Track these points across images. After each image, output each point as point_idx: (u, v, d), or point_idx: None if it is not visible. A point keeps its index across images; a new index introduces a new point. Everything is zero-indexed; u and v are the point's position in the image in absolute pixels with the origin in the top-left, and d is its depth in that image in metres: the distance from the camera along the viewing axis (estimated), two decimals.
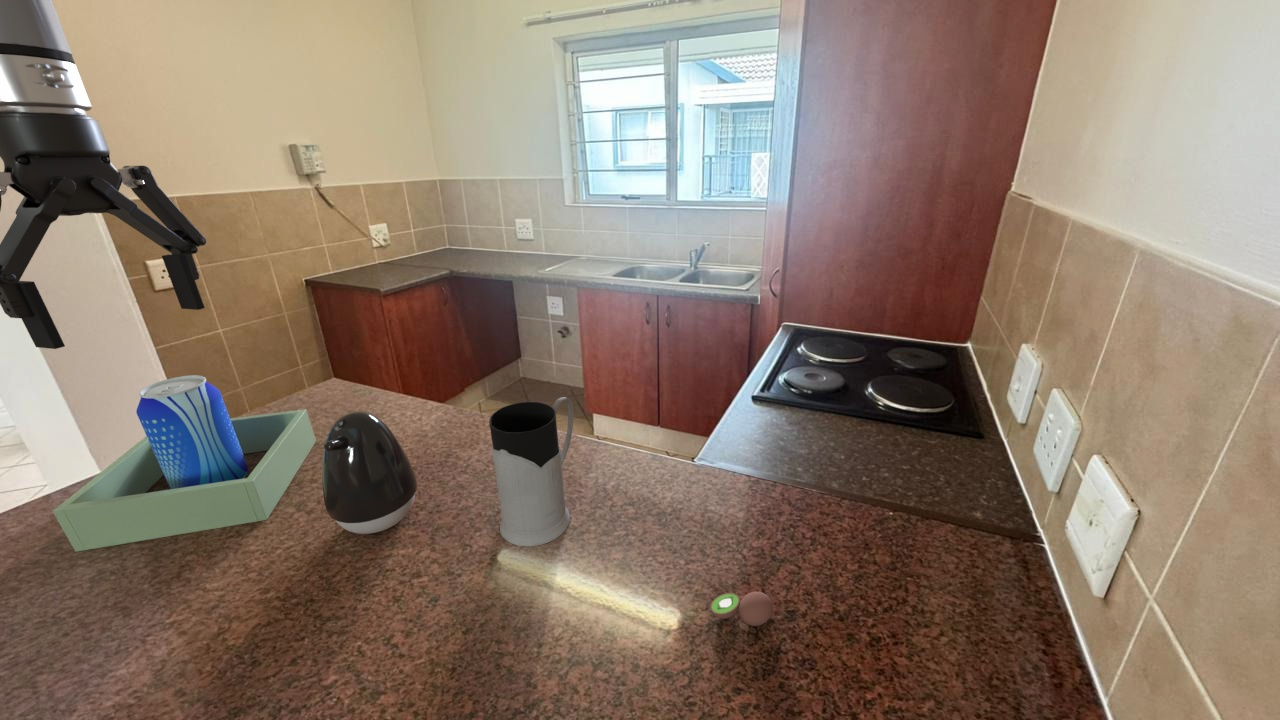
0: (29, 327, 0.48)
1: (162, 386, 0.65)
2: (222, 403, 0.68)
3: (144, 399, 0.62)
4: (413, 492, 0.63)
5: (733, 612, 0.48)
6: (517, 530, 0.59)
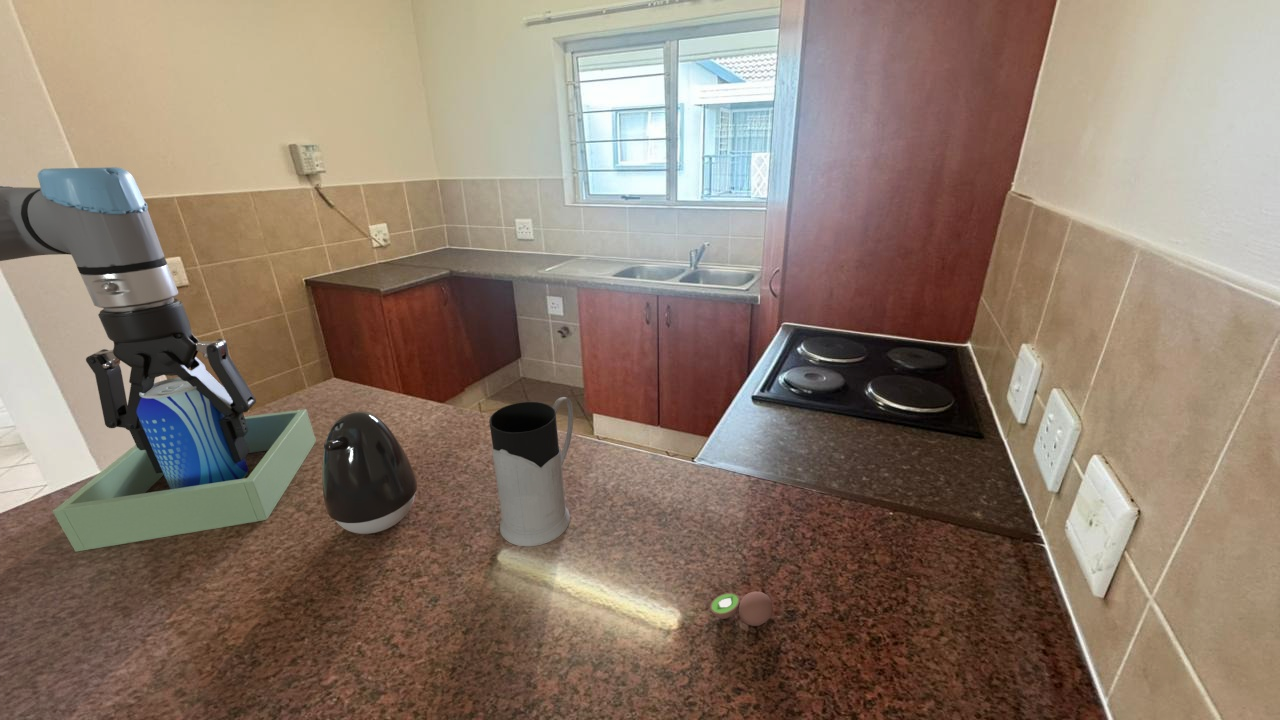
0: None
1: (162, 386, 0.65)
2: None
3: (144, 399, 0.62)
4: (413, 492, 0.63)
5: (733, 612, 0.48)
6: (517, 530, 0.59)
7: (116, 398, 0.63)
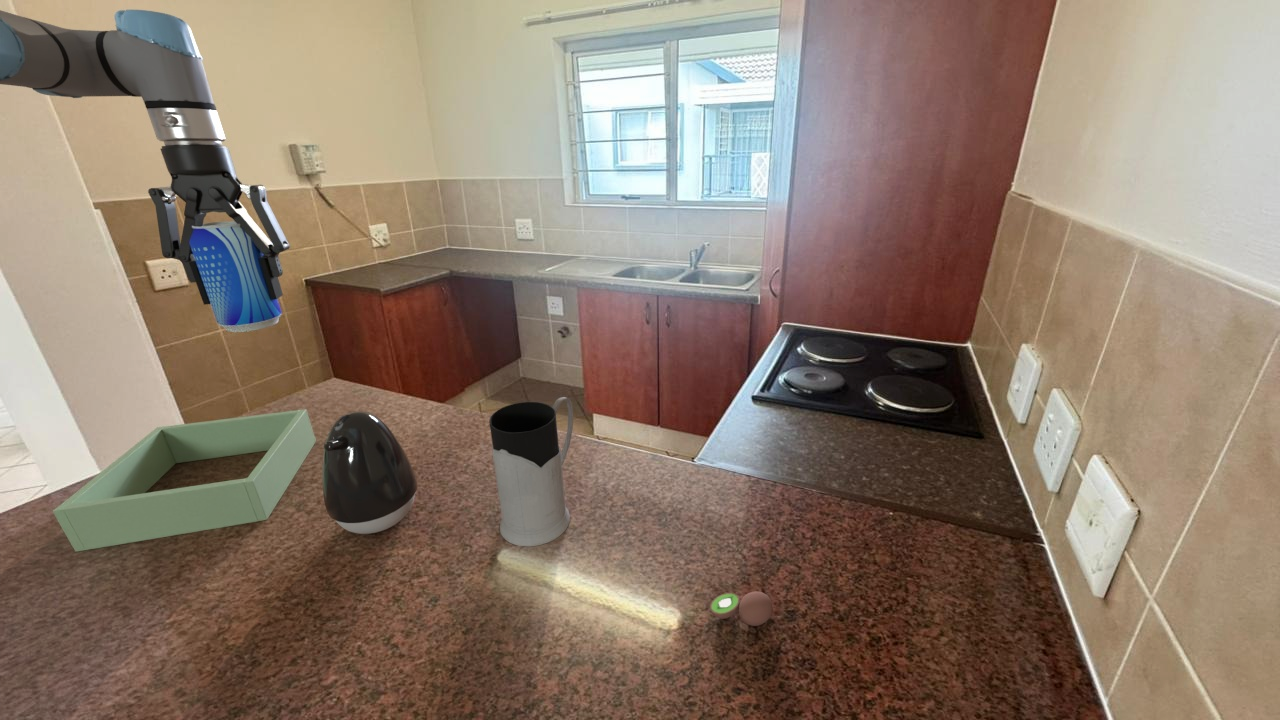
0: None
1: (210, 225, 0.75)
2: None
3: (197, 229, 0.72)
4: (413, 492, 0.63)
5: (733, 612, 0.48)
6: (517, 530, 0.59)
7: (172, 231, 0.73)
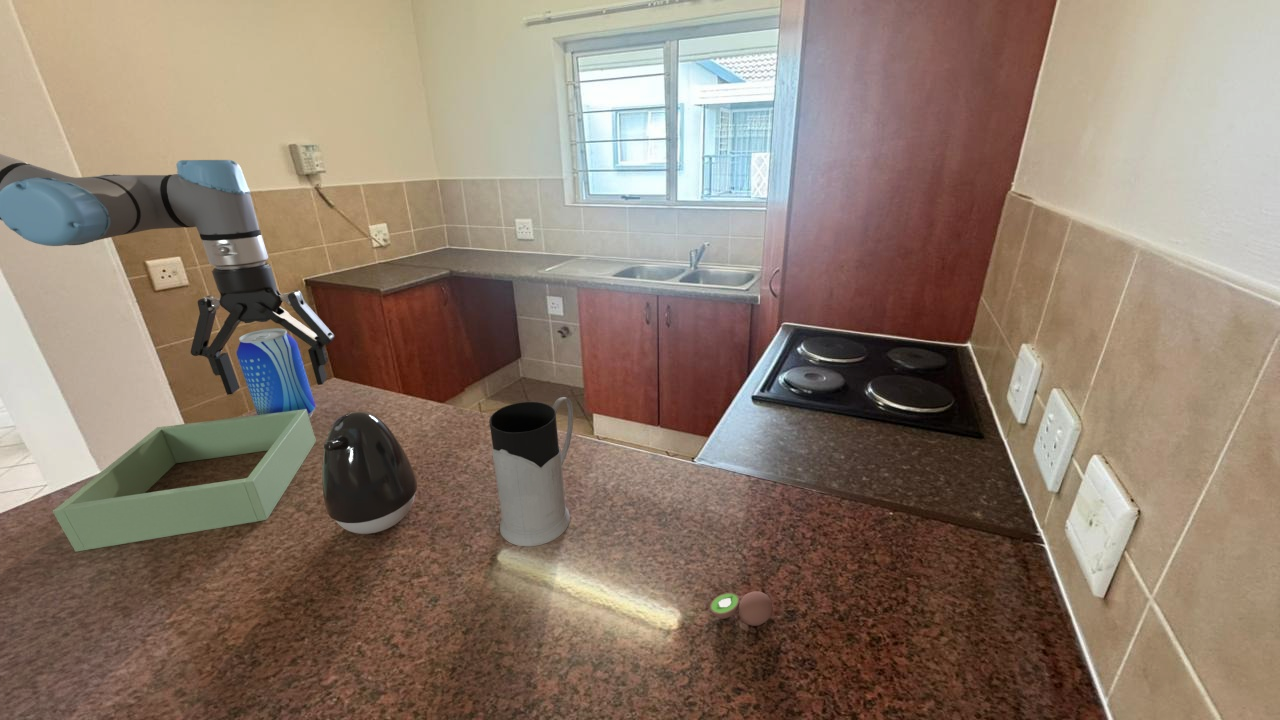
0: None
1: (254, 335, 0.84)
2: (298, 350, 0.86)
3: (244, 343, 0.81)
4: (413, 492, 0.63)
5: (733, 612, 0.48)
6: (517, 530, 0.59)
7: (206, 334, 0.81)
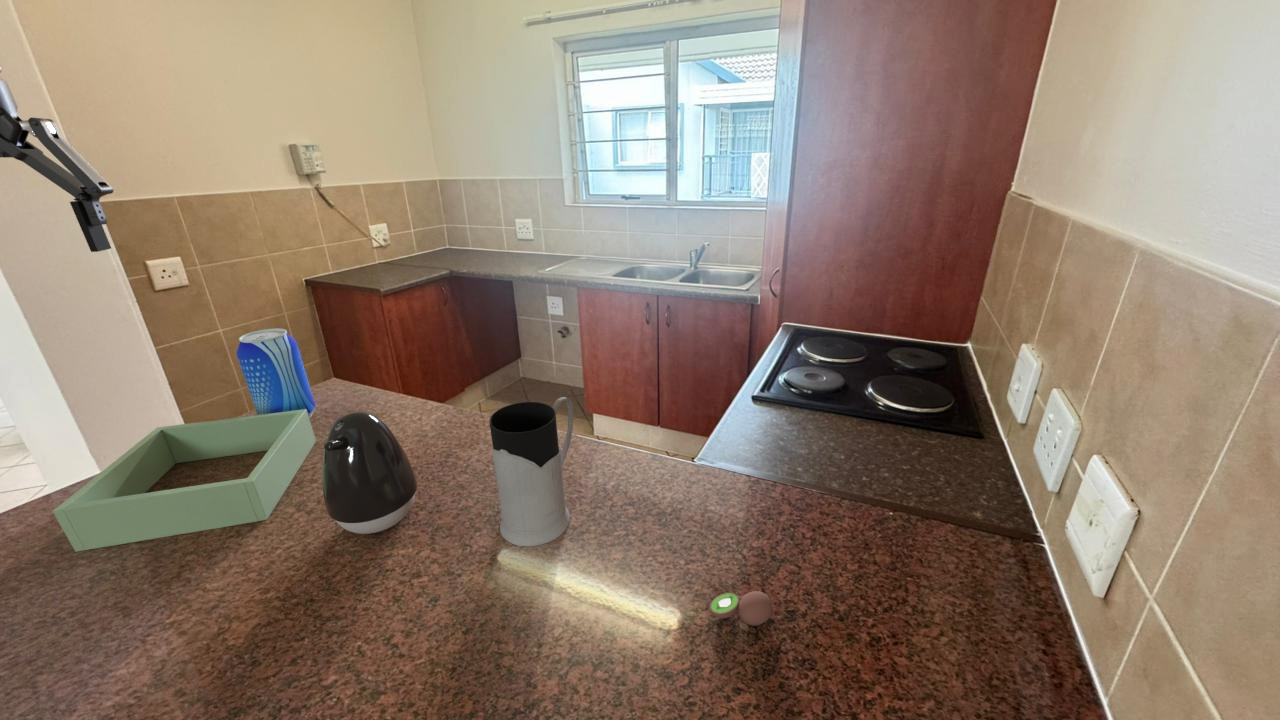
0: None
1: (254, 335, 0.84)
2: (298, 350, 0.86)
3: (244, 343, 0.81)
4: (413, 492, 0.63)
5: (732, 612, 0.48)
6: (517, 530, 0.59)
7: None
